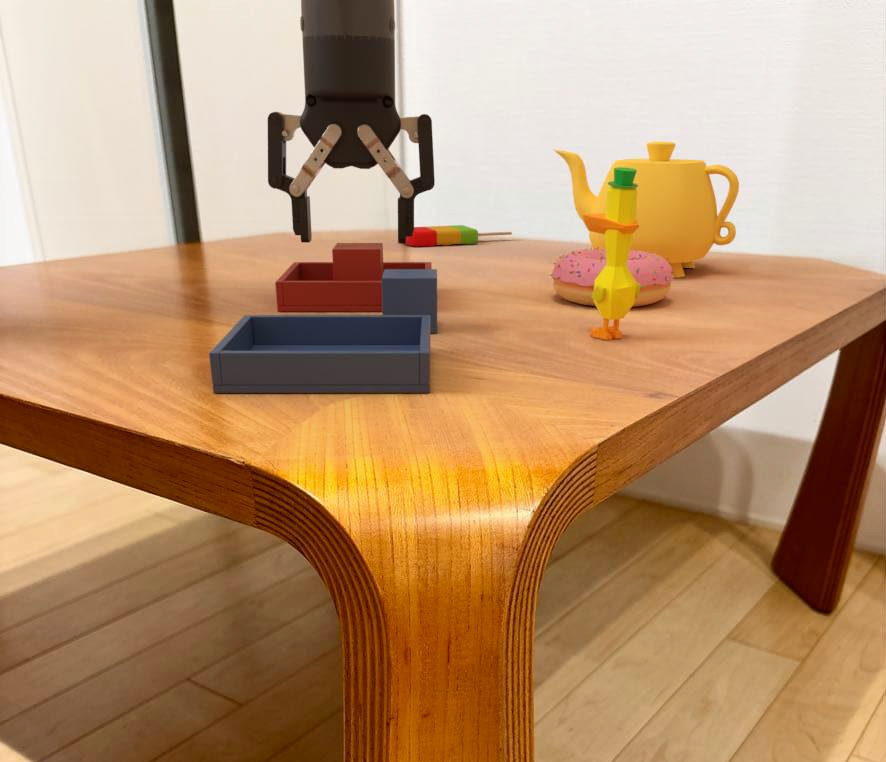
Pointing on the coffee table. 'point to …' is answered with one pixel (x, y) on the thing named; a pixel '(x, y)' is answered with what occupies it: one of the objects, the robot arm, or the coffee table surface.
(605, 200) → the teapot
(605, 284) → the toy figure
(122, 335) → the coffee table surface
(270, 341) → the blue tray
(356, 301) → the red tray
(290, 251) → the coffee table surface
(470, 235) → the popsicle
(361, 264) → the red block
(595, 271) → the doughnut
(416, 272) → the blue block
